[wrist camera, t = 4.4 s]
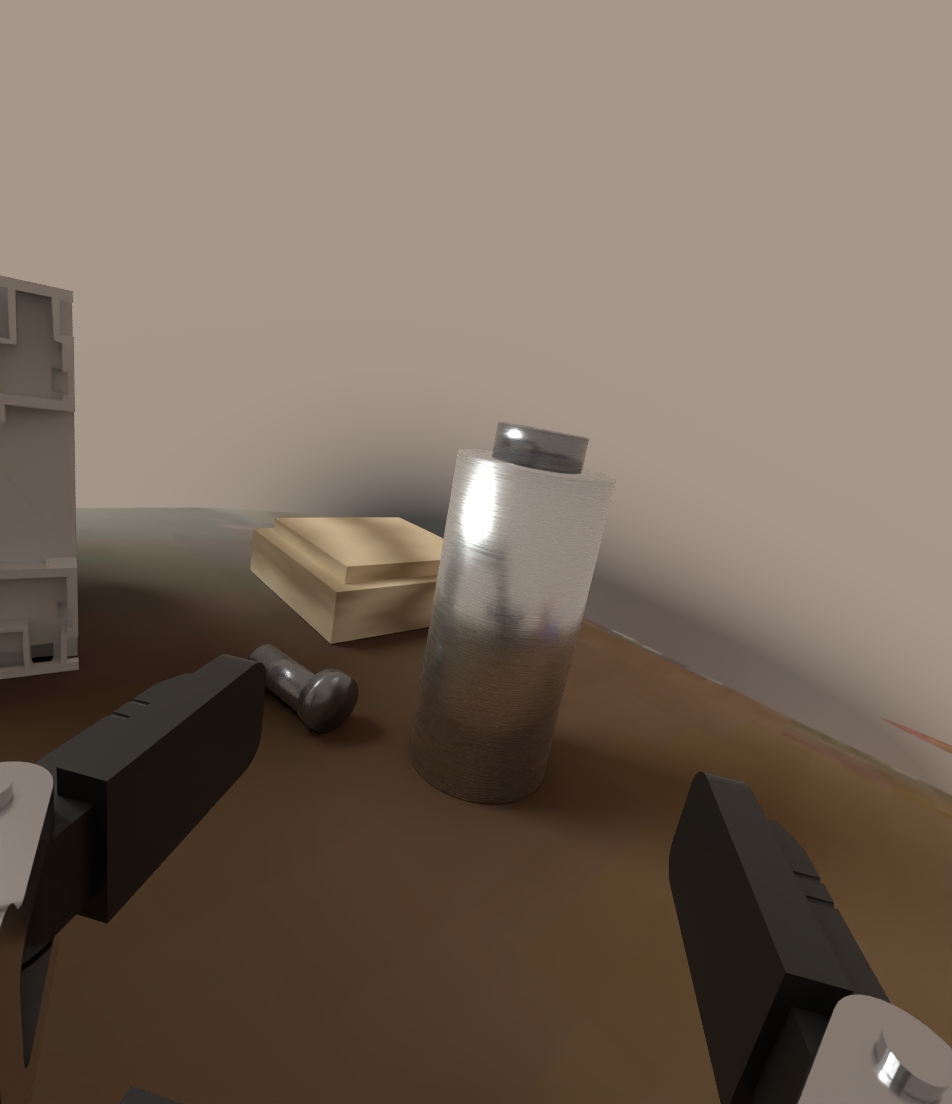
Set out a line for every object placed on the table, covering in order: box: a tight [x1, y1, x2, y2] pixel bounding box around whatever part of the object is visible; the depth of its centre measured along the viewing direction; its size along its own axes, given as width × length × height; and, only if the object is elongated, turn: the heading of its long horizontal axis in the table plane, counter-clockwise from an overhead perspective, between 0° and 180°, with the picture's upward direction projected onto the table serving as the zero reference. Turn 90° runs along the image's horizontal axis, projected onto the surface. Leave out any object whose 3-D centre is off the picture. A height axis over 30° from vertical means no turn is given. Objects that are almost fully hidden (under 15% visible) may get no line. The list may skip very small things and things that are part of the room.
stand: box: [251, 518, 444, 644], centre depth 37 cm, size 12×12×4 cm
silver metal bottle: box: [409, 422, 616, 804], centre depth 21 cm, size 6×6×13 cm
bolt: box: [248, 644, 358, 732], centre depth 23 cm, size 5×2×2 cm, turn 52°
